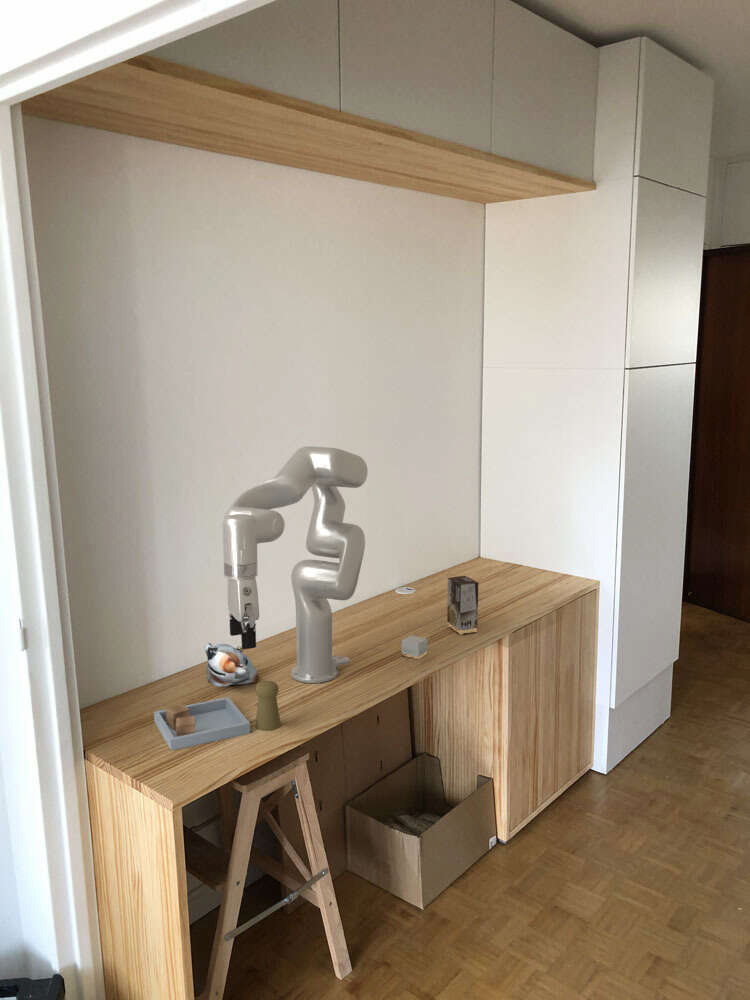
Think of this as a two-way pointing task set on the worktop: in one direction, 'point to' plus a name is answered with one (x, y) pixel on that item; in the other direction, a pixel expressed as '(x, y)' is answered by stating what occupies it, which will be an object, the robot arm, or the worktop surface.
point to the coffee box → (462, 602)
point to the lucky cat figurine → (228, 666)
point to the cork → (267, 706)
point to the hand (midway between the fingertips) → (242, 641)
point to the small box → (414, 646)
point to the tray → (206, 724)
